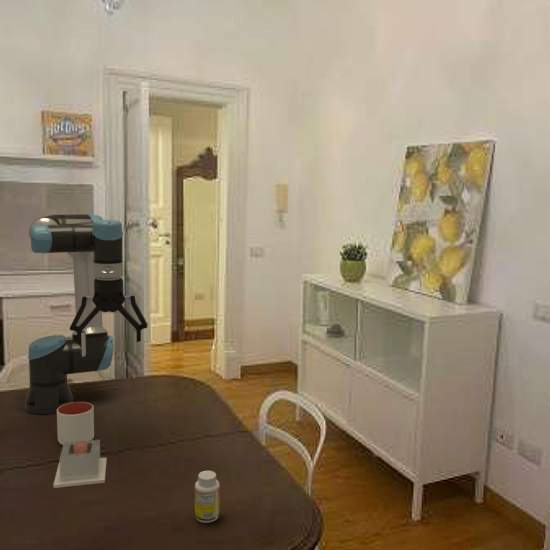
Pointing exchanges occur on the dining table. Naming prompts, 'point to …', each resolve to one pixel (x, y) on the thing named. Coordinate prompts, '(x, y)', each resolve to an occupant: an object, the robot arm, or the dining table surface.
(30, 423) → the dining table surface
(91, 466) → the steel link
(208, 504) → the supplement bottle
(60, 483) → the peg stand
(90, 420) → the cup
